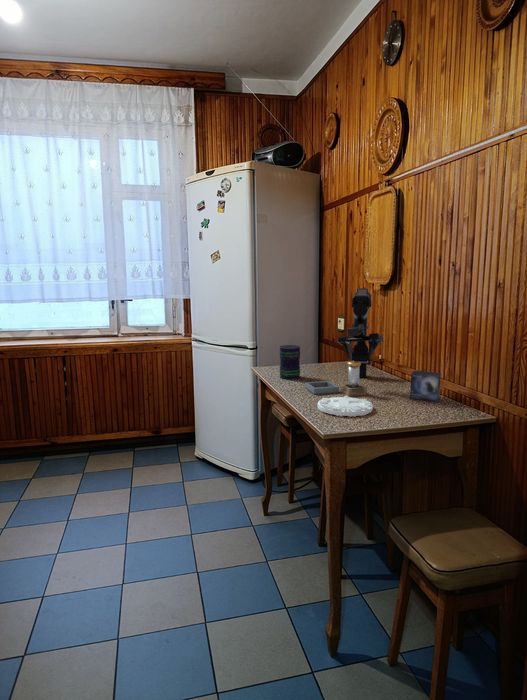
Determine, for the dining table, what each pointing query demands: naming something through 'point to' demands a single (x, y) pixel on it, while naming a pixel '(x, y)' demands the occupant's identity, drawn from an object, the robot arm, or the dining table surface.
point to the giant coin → (345, 406)
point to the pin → (353, 374)
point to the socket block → (353, 390)
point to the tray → (321, 387)
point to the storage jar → (289, 362)
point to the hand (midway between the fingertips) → (359, 359)
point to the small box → (425, 386)
